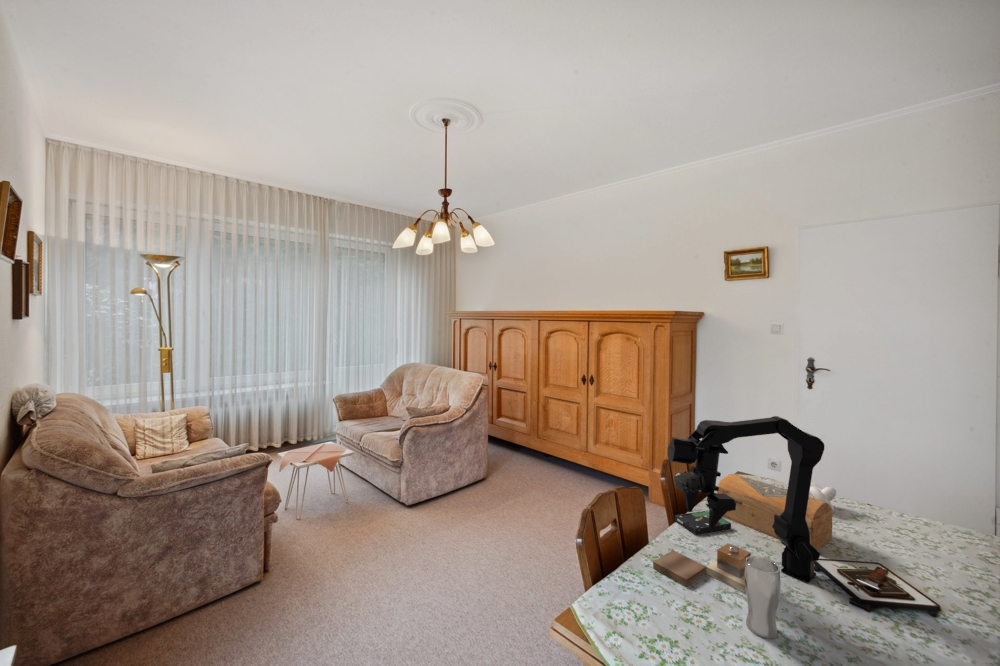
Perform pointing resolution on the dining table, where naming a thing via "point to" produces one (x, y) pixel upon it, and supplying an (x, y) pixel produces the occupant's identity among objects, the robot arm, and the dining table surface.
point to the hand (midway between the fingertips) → (699, 519)
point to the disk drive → (701, 523)
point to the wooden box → (772, 508)
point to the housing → (732, 559)
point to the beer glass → (762, 595)
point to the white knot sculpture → (822, 493)
